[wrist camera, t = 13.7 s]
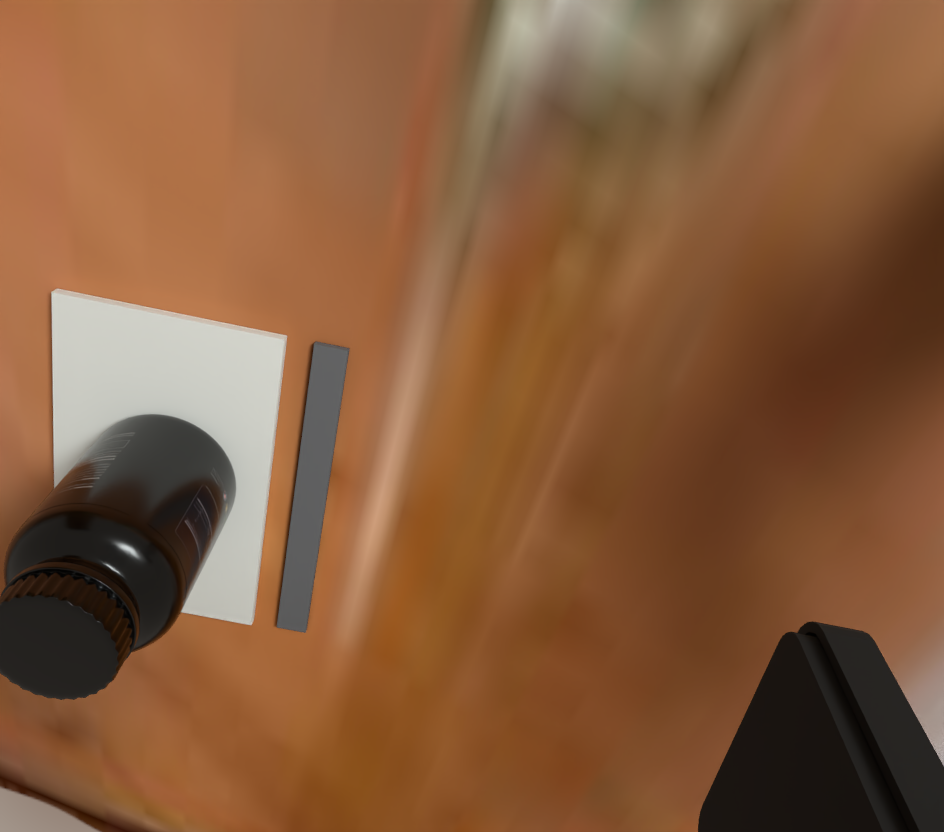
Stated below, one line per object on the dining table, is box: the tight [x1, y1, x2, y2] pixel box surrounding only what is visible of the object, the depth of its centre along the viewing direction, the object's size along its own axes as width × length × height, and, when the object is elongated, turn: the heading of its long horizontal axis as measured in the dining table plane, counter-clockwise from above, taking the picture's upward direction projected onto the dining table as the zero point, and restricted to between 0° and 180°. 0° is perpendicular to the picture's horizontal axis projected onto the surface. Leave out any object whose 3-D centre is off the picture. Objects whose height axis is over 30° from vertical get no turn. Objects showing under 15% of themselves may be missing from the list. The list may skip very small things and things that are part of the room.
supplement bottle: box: [0, 414, 236, 700], centre depth 35 cm, size 7×7×12 cm
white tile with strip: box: [52, 289, 349, 633], centre depth 41 cm, size 13×16×1 cm
